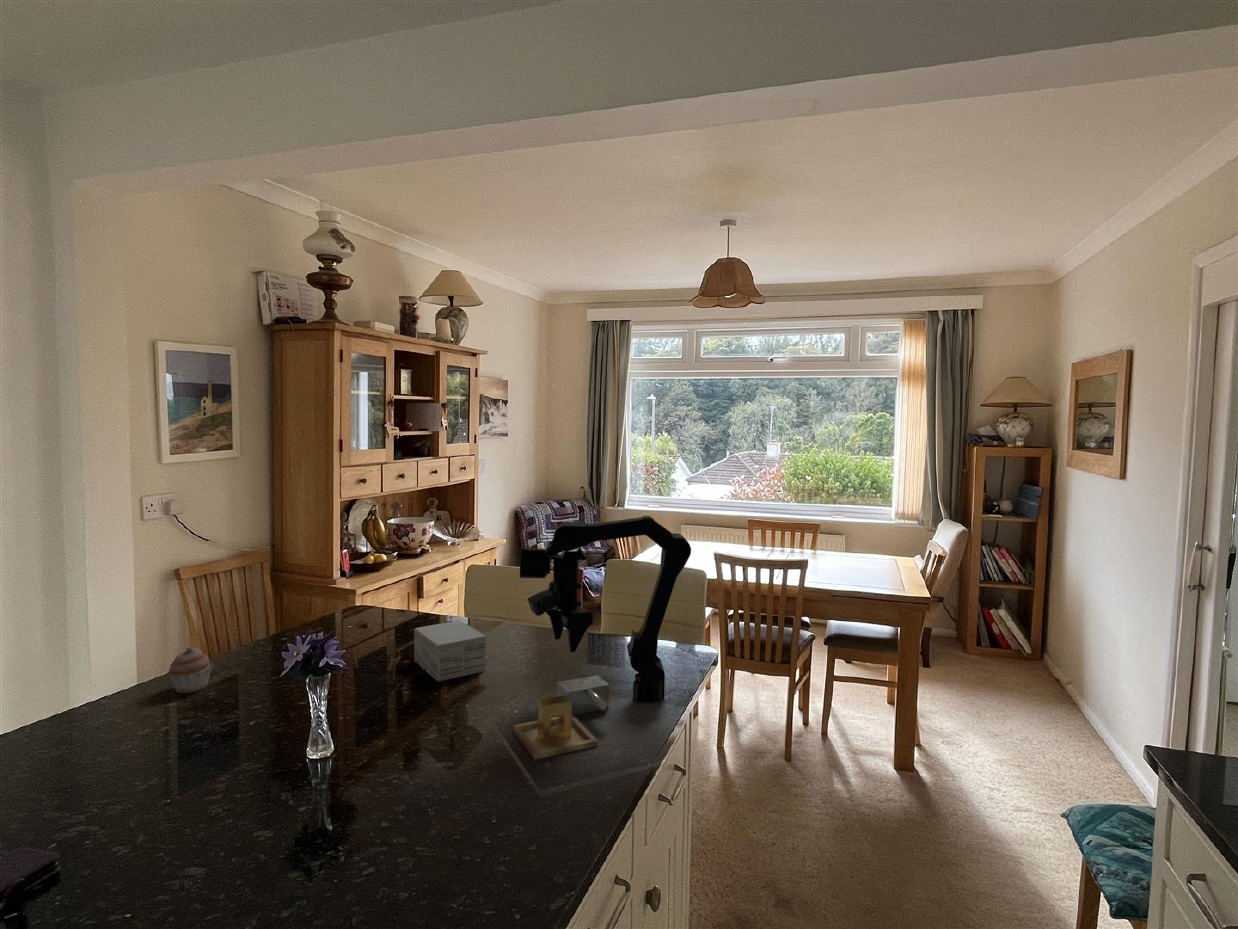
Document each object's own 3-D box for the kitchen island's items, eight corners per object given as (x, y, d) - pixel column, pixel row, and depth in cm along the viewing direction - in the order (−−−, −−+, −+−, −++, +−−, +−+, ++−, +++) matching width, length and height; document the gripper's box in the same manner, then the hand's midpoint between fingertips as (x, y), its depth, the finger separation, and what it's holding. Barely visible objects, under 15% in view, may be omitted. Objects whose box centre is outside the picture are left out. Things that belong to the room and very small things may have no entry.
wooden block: (565, 731, 136) (566, 695, 136) (571, 737, 134) (571, 700, 133) (537, 737, 134) (538, 700, 133) (543, 744, 131) (543, 706, 130)
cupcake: (157, 692, 153) (156, 650, 152) (196, 678, 162) (195, 638, 161) (185, 700, 149) (183, 656, 149) (223, 684, 158) (222, 643, 157)
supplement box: (487, 671, 170) (487, 635, 169) (437, 683, 162) (437, 645, 161) (460, 652, 183) (460, 619, 183) (413, 661, 176) (413, 627, 175)
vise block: (598, 699, 154) (598, 674, 154) (627, 725, 141) (627, 698, 141) (553, 707, 149) (554, 681, 149) (579, 736, 136) (580, 707, 136)
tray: (571, 721, 142) (571, 713, 142) (597, 749, 131) (597, 740, 131) (513, 733, 136) (513, 725, 136) (534, 763, 125) (534, 754, 125)
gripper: (518, 572, 155) (518, 637, 157) (546, 591, 139) (545, 664, 140) (563, 568, 160) (562, 631, 162) (595, 586, 144) (594, 657, 145)
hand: (564, 645), depth 152 cm, fingers open, 9 cm apart
